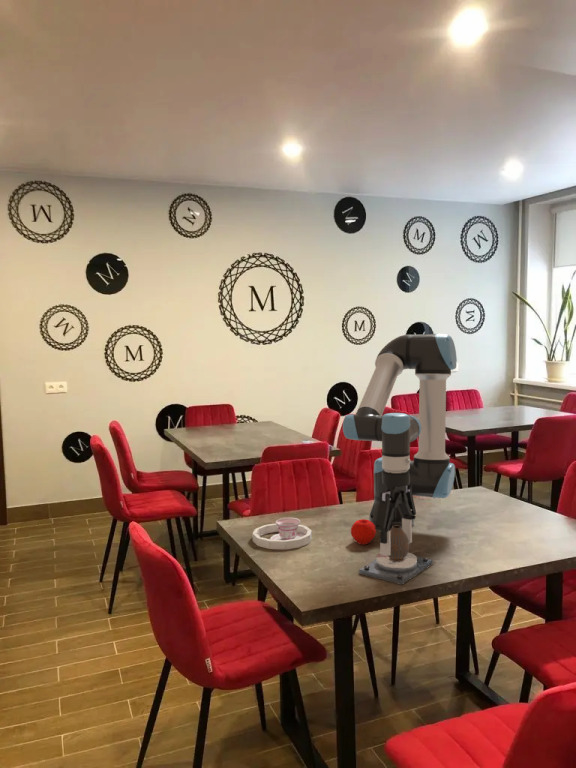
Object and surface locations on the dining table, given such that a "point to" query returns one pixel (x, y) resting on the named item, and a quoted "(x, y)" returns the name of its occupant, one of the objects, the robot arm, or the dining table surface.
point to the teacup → (287, 529)
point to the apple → (363, 531)
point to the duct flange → (395, 568)
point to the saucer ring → (281, 543)
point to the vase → (398, 543)
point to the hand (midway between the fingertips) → (396, 547)
